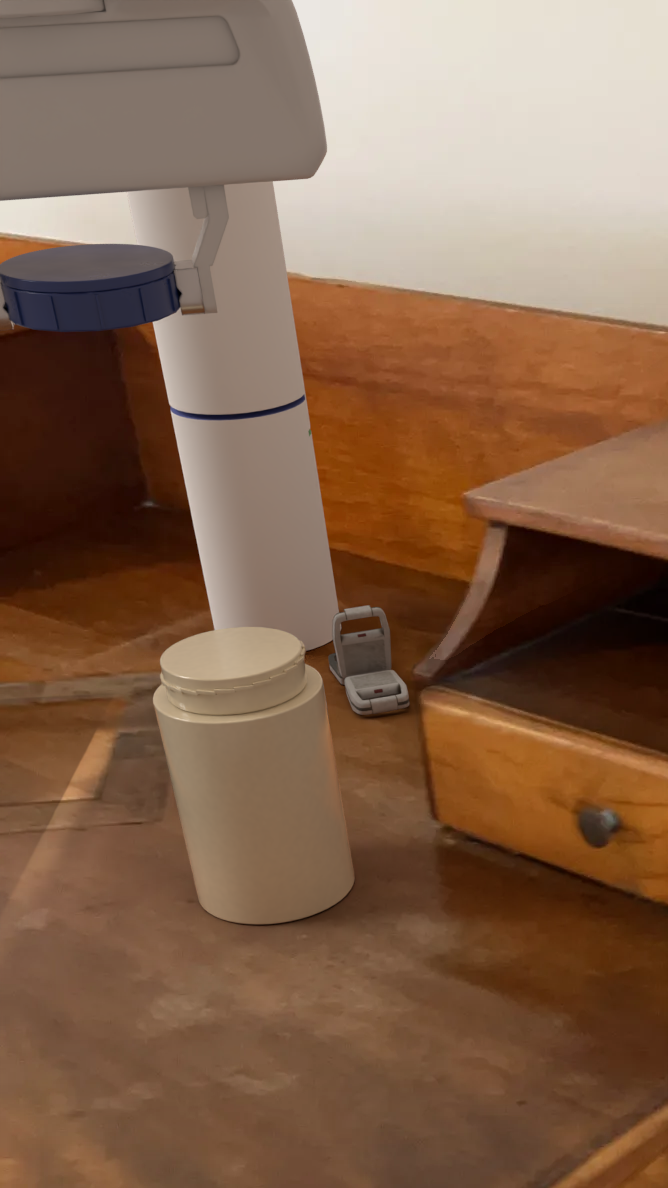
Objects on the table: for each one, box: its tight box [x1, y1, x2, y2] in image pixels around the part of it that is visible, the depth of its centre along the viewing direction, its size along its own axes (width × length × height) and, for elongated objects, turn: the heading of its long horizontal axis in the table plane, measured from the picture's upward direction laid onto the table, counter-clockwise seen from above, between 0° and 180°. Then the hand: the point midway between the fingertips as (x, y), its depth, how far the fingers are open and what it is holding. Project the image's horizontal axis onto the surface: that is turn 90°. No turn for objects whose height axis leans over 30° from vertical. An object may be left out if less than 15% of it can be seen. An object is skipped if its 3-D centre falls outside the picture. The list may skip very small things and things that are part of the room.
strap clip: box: [327, 604, 410, 716], centre depth 91 cm, size 8×3×4 cm, turn 20°
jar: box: [152, 627, 356, 926], centre depth 71 cm, size 7×7×10 cm
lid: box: [0, 243, 180, 333], centre depth 69 cm, size 7×7×2 cm
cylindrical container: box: [126, 181, 342, 652], centre depth 91 cm, size 7×7×25 cm
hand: (99, 320), depth 70 cm, fingers closed on lid, 7 cm apart
